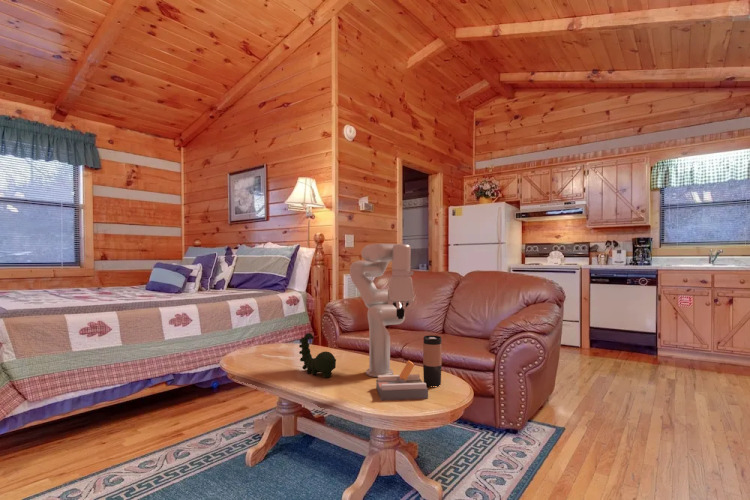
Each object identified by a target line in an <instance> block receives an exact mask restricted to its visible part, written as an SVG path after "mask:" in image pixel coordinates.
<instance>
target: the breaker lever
mask: <svg viewBox="0 0 750 500" xmlns="http://www.w3.org/2000/svg"><path fill="white" fill-rule="evenodd" d="M414 366H415V364H414V363H413V362H412V361H410V360H407V361H406V363H405V366H404V367H403V369H402V371H401V372H400V374H399V375H400V376H398V378H397V380H398V382H399V383H405V381H406V379H407V378H408V376H409V375H411V372H412V370H413V369H414Z"/></svg>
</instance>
